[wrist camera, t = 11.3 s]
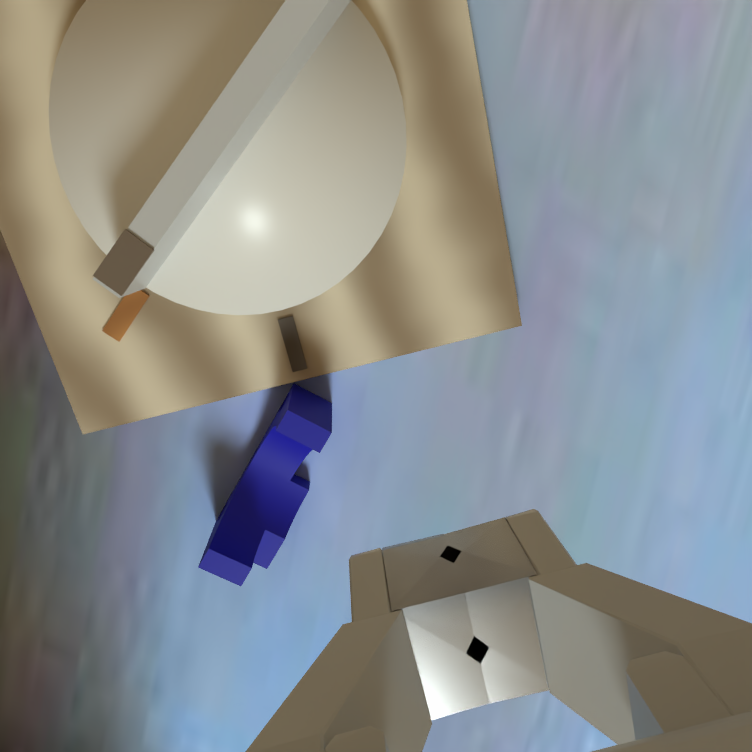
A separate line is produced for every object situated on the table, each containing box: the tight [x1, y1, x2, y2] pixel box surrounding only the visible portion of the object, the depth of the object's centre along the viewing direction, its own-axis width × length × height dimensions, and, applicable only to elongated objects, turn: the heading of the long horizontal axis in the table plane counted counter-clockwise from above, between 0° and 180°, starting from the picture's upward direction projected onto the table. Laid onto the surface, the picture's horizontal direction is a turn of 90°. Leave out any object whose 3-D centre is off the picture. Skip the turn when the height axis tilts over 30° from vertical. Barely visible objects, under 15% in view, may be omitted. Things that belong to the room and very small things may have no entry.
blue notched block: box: [199, 384, 332, 586], centre depth 39 cm, size 12×4×6 cm, turn 150°
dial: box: [49, 0, 407, 315], centre depth 32 cm, size 20×20×6 cm
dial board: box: [0, 0, 522, 434], centre depth 35 cm, size 30×30×2 cm
